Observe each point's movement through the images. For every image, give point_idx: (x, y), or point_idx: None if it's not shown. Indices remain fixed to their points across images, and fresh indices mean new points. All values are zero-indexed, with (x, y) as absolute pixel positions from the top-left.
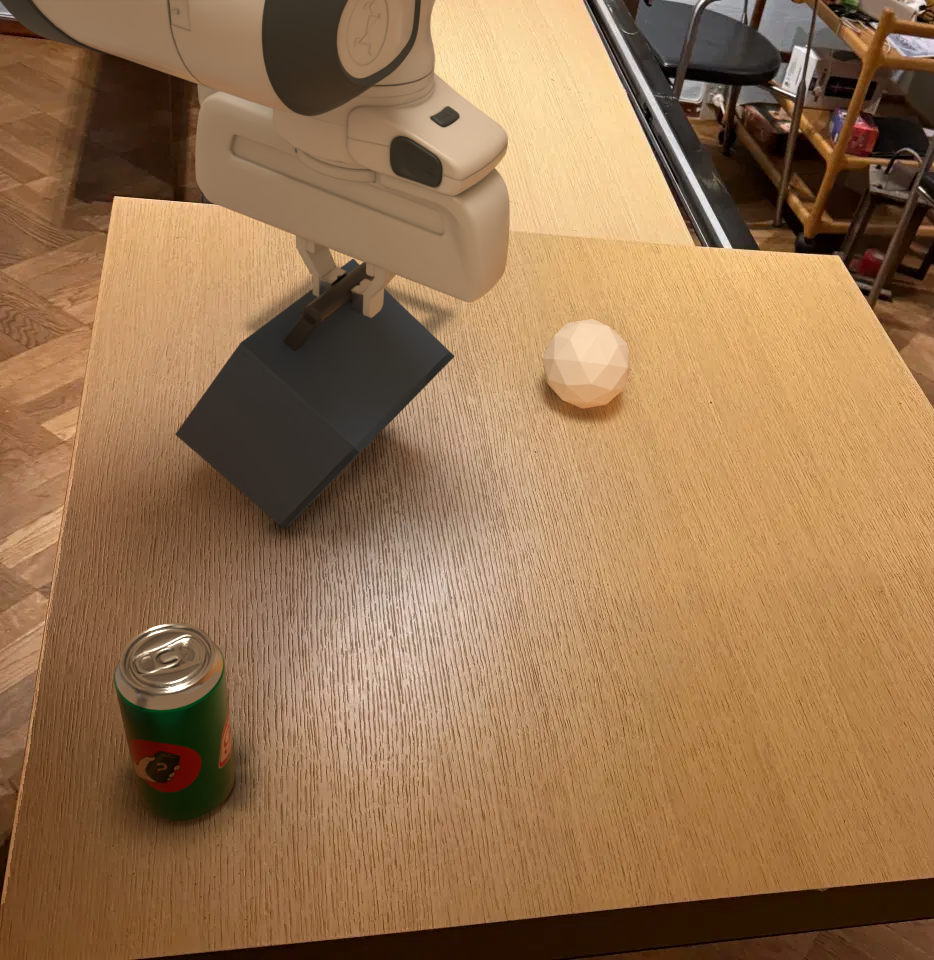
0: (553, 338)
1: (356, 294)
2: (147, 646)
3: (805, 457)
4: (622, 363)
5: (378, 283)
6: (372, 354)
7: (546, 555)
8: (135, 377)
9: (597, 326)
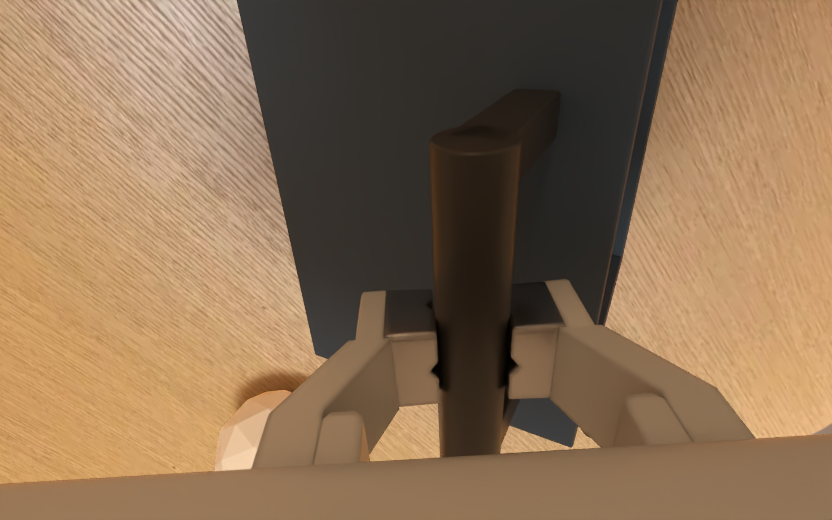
0: None
1: (411, 330)
2: None
3: (38, 455)
4: (217, 470)
5: (306, 397)
6: (391, 249)
7: (115, 158)
8: (796, 126)
9: None
